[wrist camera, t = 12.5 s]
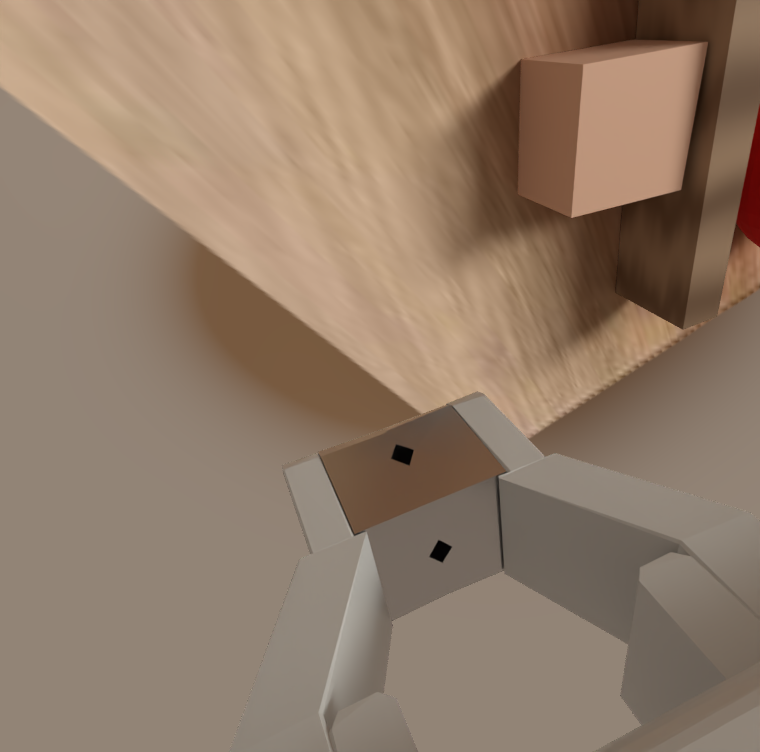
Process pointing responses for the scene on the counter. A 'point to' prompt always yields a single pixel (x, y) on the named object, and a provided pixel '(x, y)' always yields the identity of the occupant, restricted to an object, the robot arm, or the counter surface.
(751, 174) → the tomato
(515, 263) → the counter surface
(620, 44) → the terracotta block
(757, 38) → the walnut board
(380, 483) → the robot arm
